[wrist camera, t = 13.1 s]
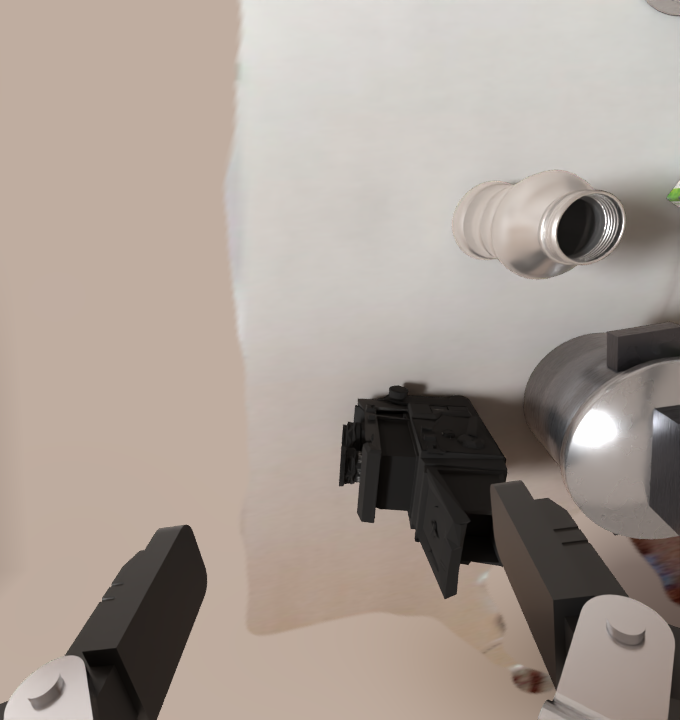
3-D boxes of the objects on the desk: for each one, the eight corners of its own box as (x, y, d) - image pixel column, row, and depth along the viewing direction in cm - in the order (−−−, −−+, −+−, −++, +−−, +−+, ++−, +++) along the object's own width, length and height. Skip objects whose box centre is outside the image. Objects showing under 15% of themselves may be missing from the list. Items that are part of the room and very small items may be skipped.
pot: (515, 320, 44) (565, 353, 34) (667, 295, 43) (768, 321, 33) (525, 484, 50) (570, 555, 40) (658, 466, 49) (741, 534, 39)
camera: (345, 377, 47) (340, 491, 28) (473, 386, 47) (556, 505, 28) (339, 460, 50) (331, 612, 31) (459, 468, 50) (526, 626, 31)
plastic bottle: (530, 199, 41) (685, 188, 22) (494, 268, 43) (607, 312, 24) (467, 170, 40) (571, 132, 21) (434, 241, 42) (501, 265, 23)
